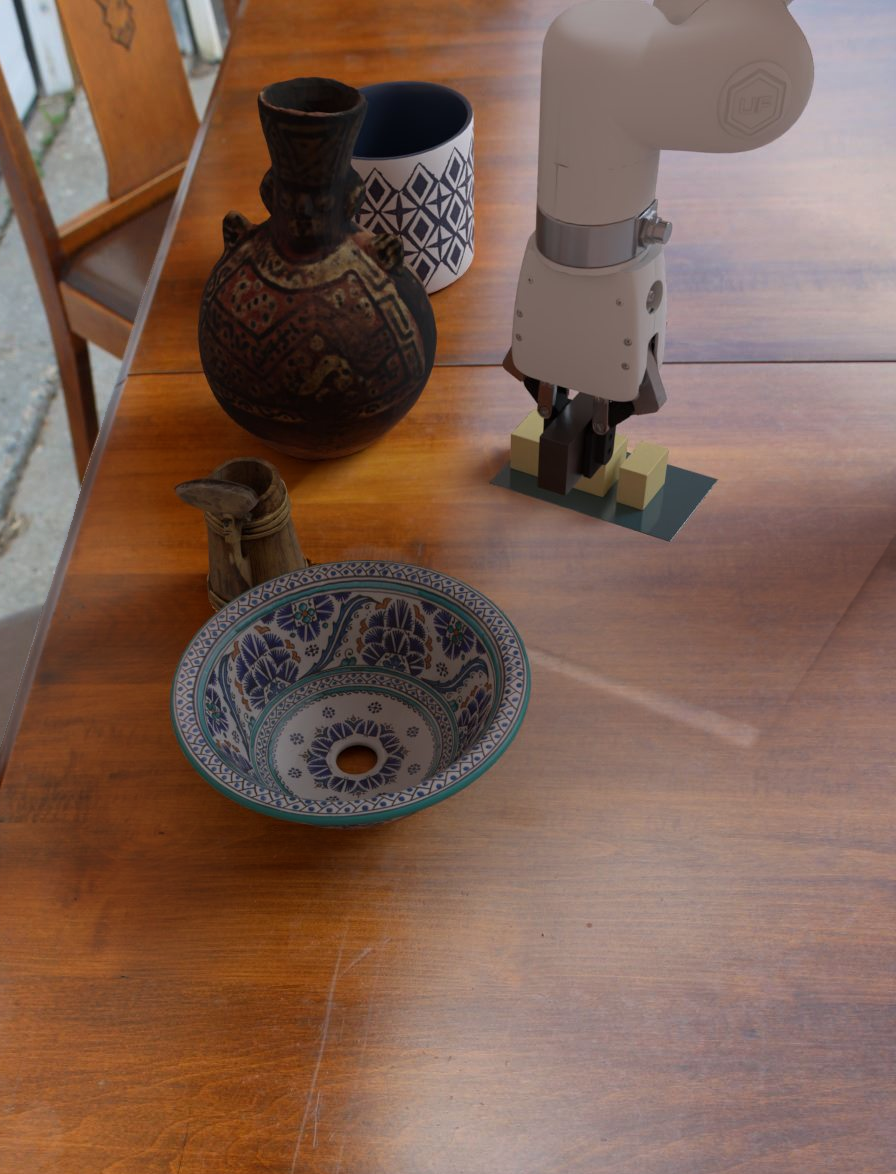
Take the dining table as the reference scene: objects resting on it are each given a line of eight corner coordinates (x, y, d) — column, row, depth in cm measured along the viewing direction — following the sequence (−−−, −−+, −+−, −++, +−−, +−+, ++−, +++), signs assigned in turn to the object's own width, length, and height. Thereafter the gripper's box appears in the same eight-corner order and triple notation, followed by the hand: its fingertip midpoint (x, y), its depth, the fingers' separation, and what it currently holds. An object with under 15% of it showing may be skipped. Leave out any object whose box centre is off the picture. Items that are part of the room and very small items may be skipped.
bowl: (189, 674, 107) (166, 583, 100) (498, 633, 106) (499, 537, 98) (197, 927, 92) (171, 843, 85) (556, 882, 91) (562, 792, 84)
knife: (565, 496, 100) (568, 445, 96) (536, 487, 101) (539, 436, 97) (673, 369, 107) (680, 317, 104) (646, 362, 108) (651, 310, 105)
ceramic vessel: (188, 483, 122) (115, 144, 98) (251, 372, 131) (198, 37, 107) (409, 509, 116) (390, 156, 92) (459, 391, 125) (453, 41, 101)
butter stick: (509, 468, 116) (510, 433, 113) (532, 442, 118) (533, 408, 115) (603, 497, 112) (605, 463, 110) (625, 471, 114) (628, 436, 111)
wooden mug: (185, 663, 108) (138, 479, 93) (221, 553, 116) (183, 366, 101) (292, 669, 106) (261, 482, 92) (321, 556, 114) (297, 367, 99)
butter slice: (615, 502, 112) (619, 467, 109) (637, 475, 114) (641, 440, 111) (642, 510, 111) (647, 475, 108) (664, 483, 113) (669, 448, 110)
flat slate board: (489, 492, 116) (489, 482, 115) (540, 435, 120) (540, 425, 119) (669, 551, 109) (670, 541, 108) (716, 488, 113) (718, 479, 112)
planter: (386, 323, 133) (377, 177, 122) (293, 265, 141) (276, 124, 130) (506, 259, 137) (508, 113, 126) (409, 207, 146) (402, 65, 134)
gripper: (734, 222, 85) (696, 464, 100) (514, 174, 92) (509, 408, 107) (682, 280, 82) (651, 521, 97) (457, 227, 89) (460, 460, 103)
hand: (576, 460), depth 102 cm, fingers closed on knife, 2 cm apart
